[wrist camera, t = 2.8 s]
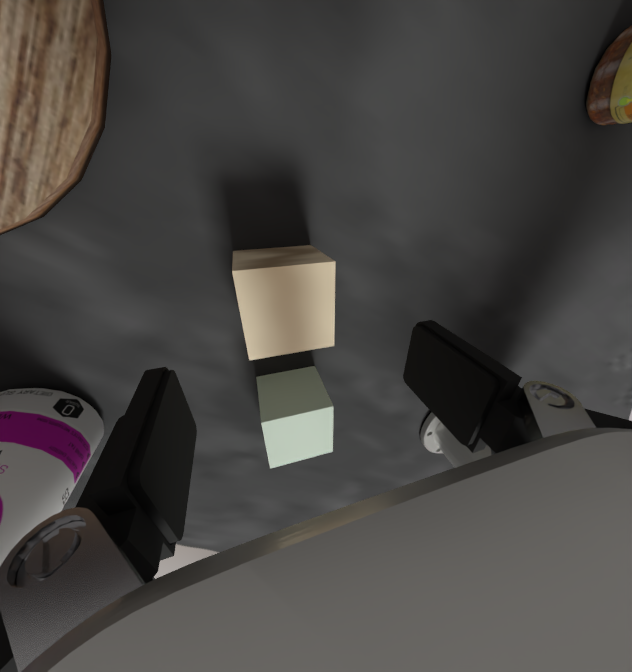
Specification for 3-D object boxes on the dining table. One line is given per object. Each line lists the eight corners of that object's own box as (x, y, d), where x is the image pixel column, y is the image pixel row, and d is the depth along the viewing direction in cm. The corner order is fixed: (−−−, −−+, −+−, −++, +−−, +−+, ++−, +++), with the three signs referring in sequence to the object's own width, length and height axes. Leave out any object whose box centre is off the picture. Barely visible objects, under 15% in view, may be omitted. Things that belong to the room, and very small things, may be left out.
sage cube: (314, 365, 26) (333, 406, 21) (316, 407, 29) (332, 451, 24) (256, 376, 25) (261, 422, 20) (263, 418, 28) (270, 468, 23)
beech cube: (310, 244, 20) (335, 261, 15) (312, 312, 23) (334, 345, 18) (233, 250, 19) (231, 271, 14) (246, 322, 22) (249, 360, 17)
